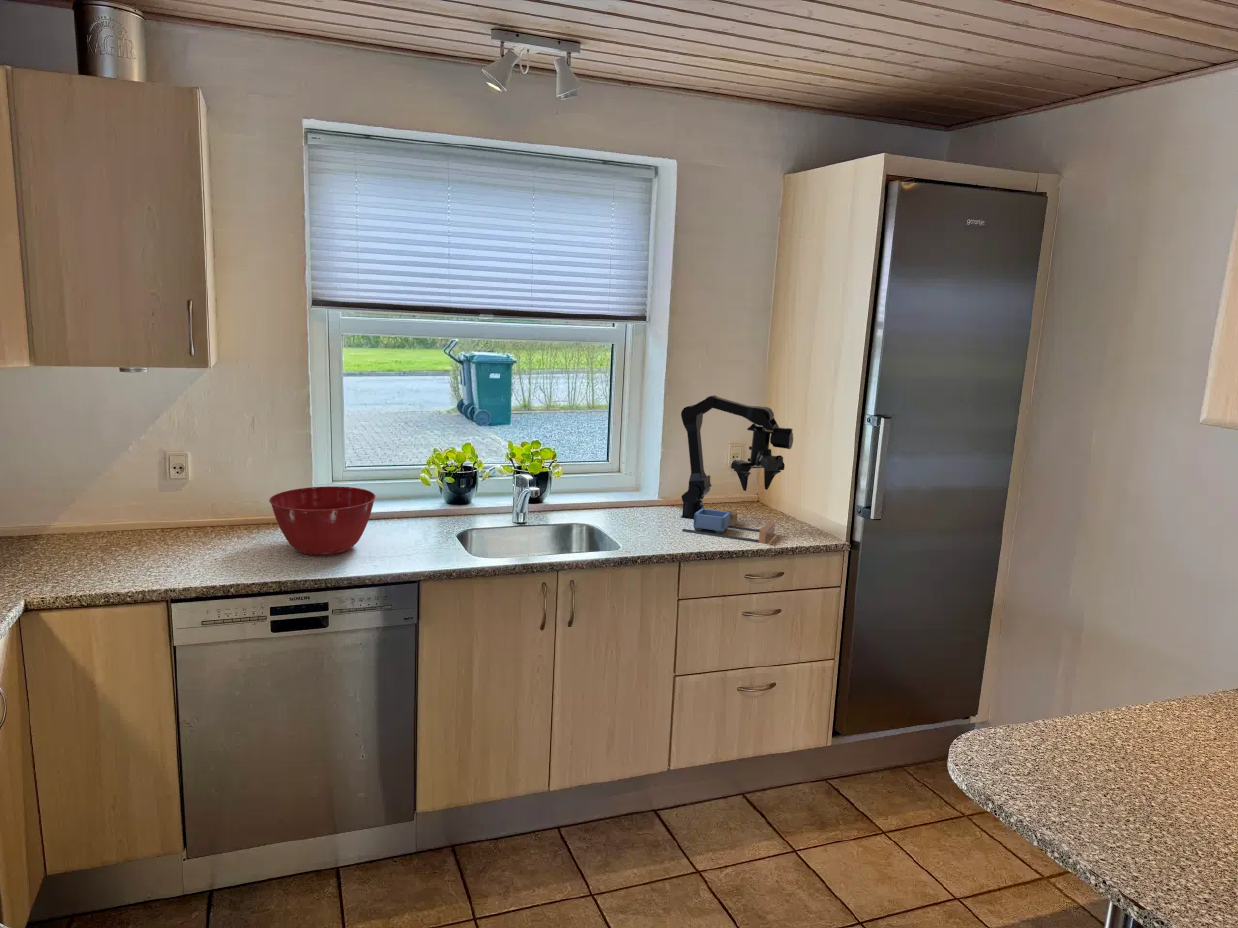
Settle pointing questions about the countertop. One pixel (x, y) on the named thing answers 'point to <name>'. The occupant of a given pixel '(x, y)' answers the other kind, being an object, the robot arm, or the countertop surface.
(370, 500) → the mixing bowl
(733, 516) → the block
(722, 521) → the box
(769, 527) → the track
